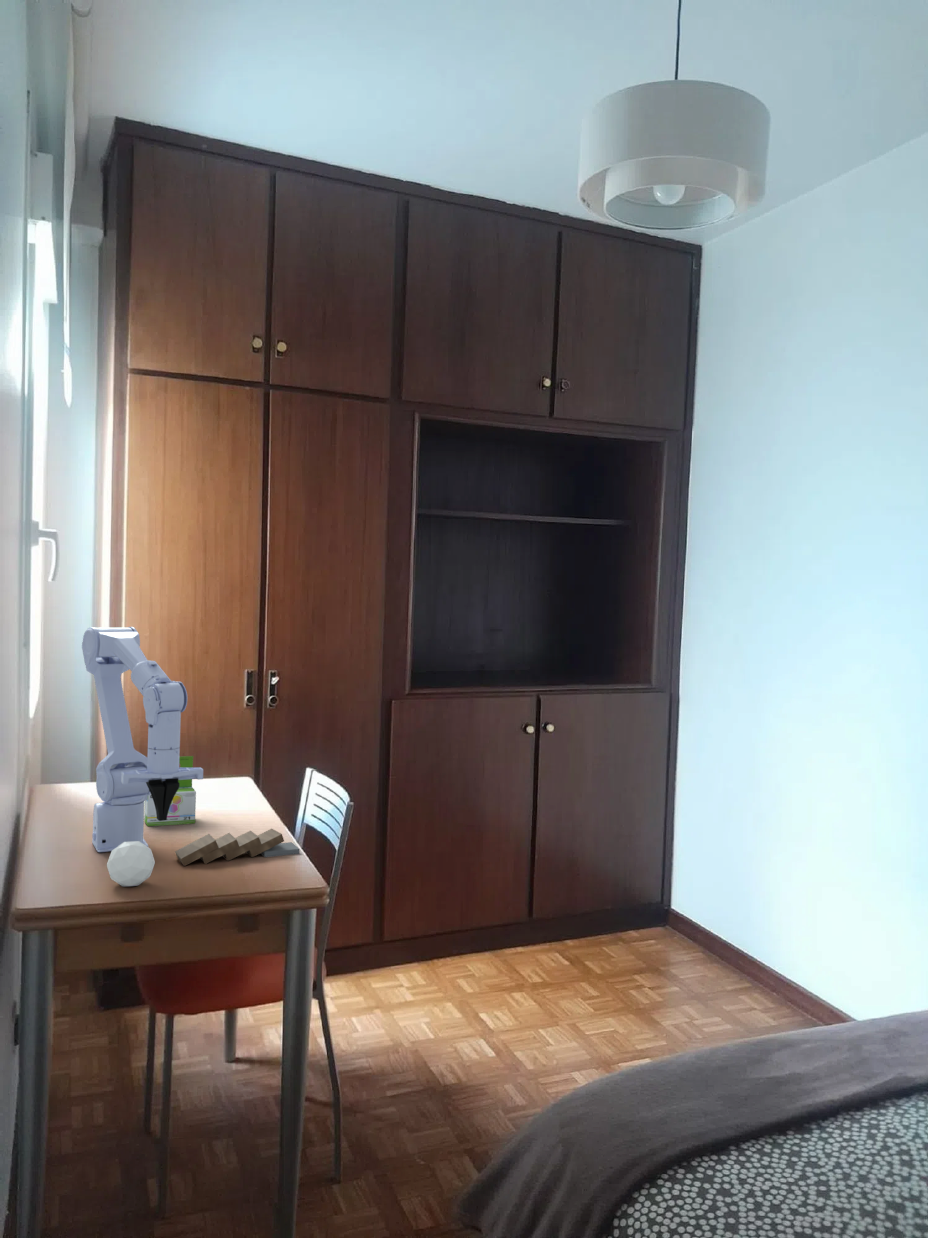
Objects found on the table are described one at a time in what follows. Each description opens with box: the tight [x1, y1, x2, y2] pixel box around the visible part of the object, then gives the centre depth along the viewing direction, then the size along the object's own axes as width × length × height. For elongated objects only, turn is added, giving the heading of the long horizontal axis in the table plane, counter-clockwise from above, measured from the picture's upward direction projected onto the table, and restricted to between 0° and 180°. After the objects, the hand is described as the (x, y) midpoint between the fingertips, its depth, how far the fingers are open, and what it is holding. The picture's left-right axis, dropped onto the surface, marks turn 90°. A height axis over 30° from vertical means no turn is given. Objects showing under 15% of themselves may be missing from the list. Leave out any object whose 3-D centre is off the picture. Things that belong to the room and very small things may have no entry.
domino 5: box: [260, 841, 300, 858], centre depth 191 cm, size 2×5×7 cm
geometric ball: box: [106, 841, 156, 888], centre depth 168 cm, size 8×8×8 cm
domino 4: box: [244, 828, 285, 858], centre depth 190 cm, size 2×5×7 cm
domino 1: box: [174, 833, 219, 867], centre depth 183 cm, size 2×5×7 cm
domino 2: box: [199, 832, 239, 865], centre depth 185 cm, size 2×5×7 cm
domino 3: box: [221, 830, 261, 862], centre depth 187 cm, size 2×5×7 cm
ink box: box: [144, 755, 197, 827], centre depth 210 cm, size 10×5×14 cm, turn 114°
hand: (161, 819), depth 180 cm, fingers closed
